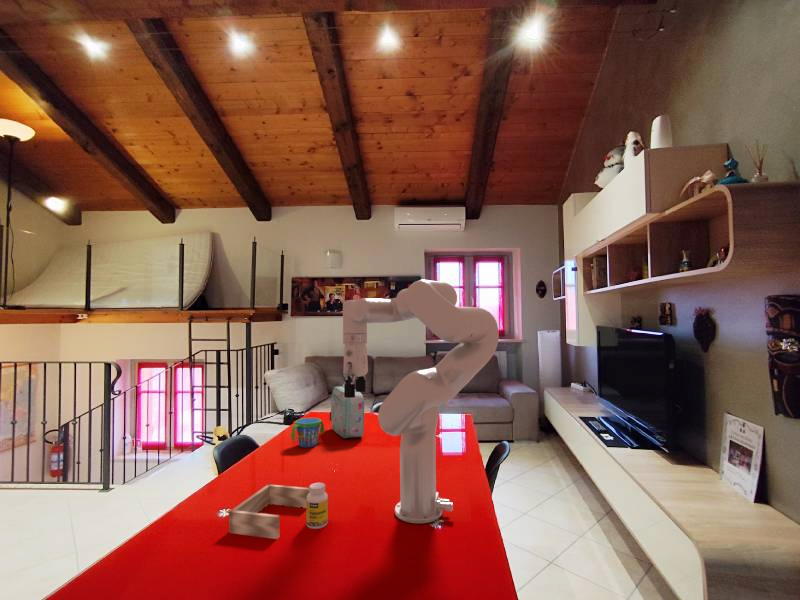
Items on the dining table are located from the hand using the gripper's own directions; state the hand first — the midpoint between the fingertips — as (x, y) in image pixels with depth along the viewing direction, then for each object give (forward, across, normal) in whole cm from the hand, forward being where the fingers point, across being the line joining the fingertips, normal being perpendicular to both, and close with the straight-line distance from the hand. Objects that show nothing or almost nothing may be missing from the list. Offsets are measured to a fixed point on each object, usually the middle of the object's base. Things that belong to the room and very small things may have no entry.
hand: (355, 394), depth 126 cm
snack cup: (+28, +36, +34) cm, 57 cm away
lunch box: (+29, +56, +25) cm, 68 cm away
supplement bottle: (+28, -23, +2) cm, 37 cm away
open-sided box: (+28, -24, +14) cm, 40 cm away
